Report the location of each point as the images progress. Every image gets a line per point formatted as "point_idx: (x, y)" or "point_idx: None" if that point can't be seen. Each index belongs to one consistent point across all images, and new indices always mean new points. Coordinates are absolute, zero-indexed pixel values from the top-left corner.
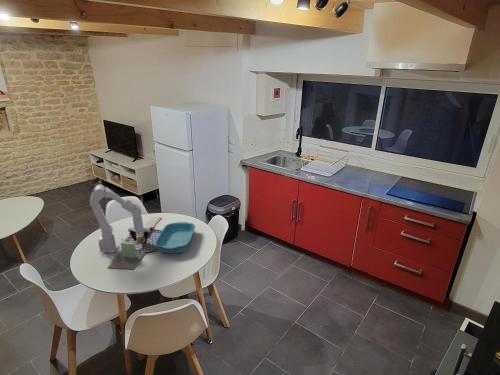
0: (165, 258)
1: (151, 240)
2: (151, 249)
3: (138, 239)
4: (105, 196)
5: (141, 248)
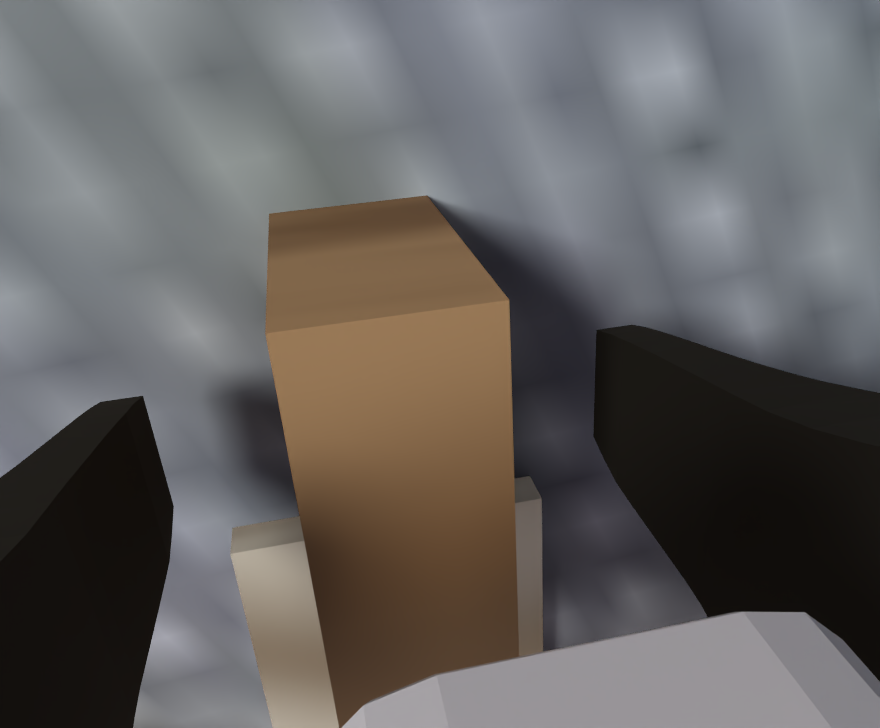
0: None
1: (672, 83)
2: None
3: None
4: None
5: None
